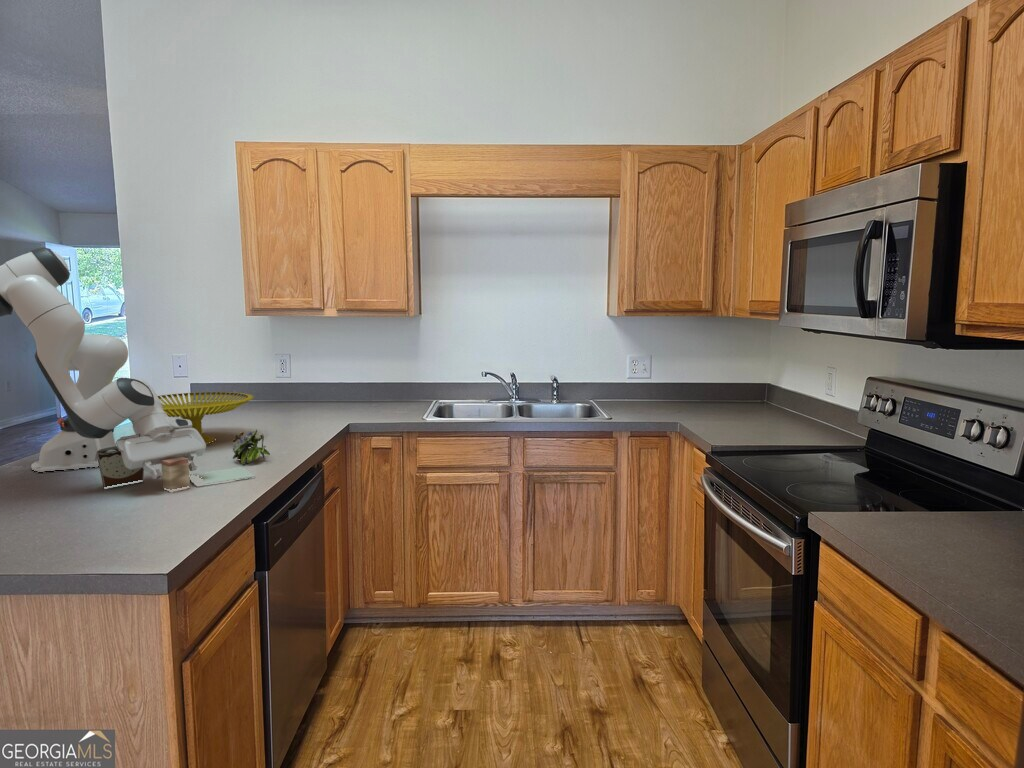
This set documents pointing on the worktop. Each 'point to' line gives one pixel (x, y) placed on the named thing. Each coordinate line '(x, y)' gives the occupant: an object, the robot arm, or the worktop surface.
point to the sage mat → (224, 475)
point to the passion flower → (243, 446)
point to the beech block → (175, 473)
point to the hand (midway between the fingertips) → (176, 473)
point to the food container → (116, 468)
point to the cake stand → (201, 407)
